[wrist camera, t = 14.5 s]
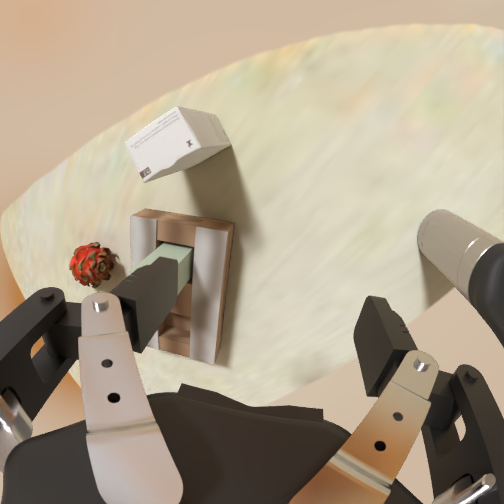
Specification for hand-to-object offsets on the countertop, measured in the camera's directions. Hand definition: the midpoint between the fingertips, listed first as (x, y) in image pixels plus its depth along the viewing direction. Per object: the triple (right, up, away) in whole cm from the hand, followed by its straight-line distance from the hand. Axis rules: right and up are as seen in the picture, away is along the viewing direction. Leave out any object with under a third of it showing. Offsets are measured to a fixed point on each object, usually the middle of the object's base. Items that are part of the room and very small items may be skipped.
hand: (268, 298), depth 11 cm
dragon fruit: (-32, +1, +40) cm, 51 cm away
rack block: (-13, -4, +39) cm, 41 cm away
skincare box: (-9, +19, +30) cm, 36 cm away
